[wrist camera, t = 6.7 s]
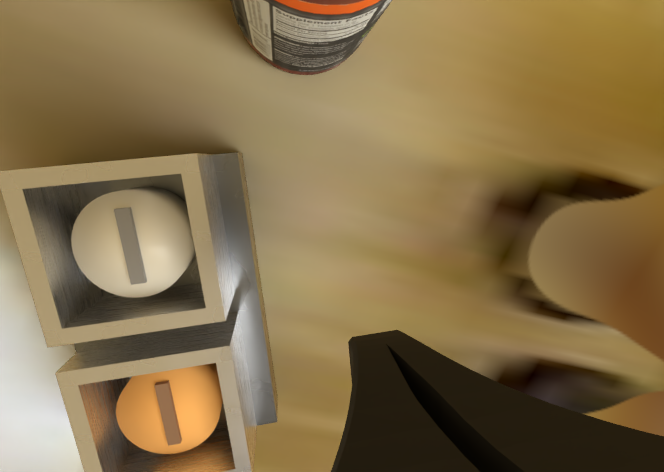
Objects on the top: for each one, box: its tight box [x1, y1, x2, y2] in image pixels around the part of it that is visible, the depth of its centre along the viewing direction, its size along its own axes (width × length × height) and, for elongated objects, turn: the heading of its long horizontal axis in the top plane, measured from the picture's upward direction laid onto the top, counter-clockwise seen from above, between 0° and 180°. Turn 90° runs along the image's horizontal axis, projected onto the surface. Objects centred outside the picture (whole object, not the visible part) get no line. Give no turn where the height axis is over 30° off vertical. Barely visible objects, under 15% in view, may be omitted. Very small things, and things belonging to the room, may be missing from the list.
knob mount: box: [0, 152, 277, 472], centre depth 15 cm, size 13×8×5 cm, turn 4°
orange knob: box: [116, 363, 223, 454], centre depth 15 cm, size 4×4×2 cm
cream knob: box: [71, 187, 196, 298], centre depth 14 cm, size 4×4×2 cm
